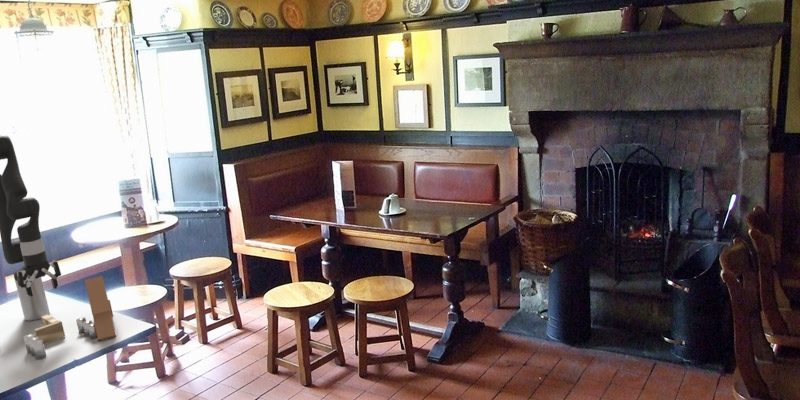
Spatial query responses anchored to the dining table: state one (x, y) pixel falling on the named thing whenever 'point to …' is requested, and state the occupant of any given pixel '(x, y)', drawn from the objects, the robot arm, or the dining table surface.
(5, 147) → the robot arm
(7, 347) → the dining table surface
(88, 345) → the dining table surface
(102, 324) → the tan tall stepped post
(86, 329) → the spacers
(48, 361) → the dining table surface
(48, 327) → the wooden l-bracket
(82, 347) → the dining table surface
